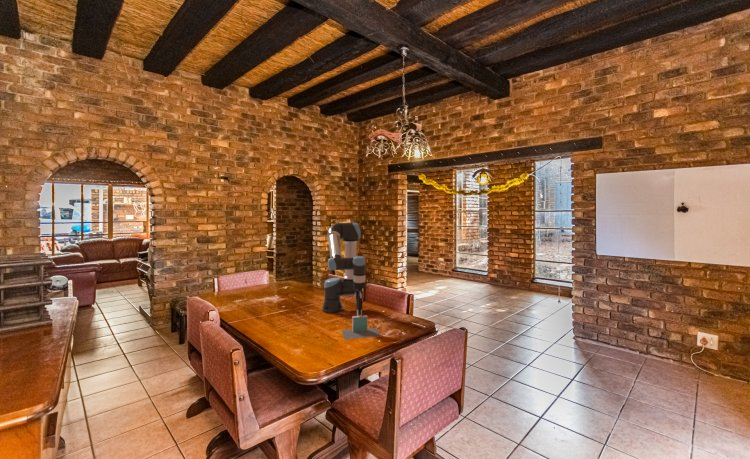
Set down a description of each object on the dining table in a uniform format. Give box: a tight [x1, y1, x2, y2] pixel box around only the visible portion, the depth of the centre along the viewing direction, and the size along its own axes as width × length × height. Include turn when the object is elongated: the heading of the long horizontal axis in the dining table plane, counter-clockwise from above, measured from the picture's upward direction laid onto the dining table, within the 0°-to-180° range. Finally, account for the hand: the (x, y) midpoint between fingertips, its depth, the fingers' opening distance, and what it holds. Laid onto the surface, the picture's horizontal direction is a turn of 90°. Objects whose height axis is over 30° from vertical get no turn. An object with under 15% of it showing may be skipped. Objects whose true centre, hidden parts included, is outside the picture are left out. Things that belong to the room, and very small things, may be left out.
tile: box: [351, 315, 368, 332], centre depth 206 cm, size 2×9×9 cm, turn 102°
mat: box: [341, 327, 382, 340], centre depth 202 cm, size 14×22×1 cm, turn 102°
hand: (359, 319), depth 208 cm, fingers closed
